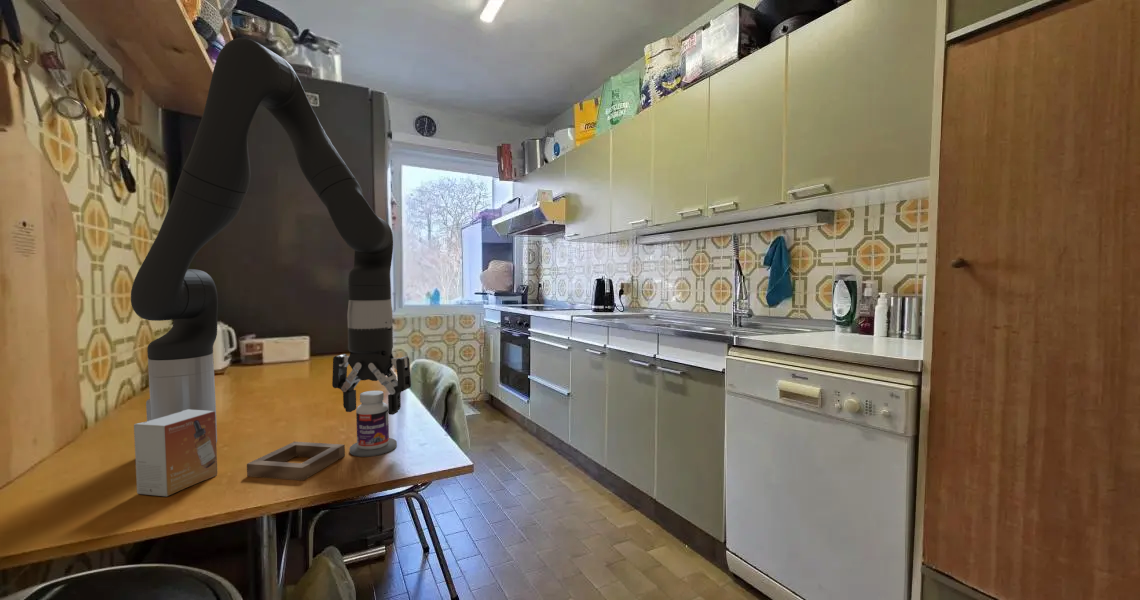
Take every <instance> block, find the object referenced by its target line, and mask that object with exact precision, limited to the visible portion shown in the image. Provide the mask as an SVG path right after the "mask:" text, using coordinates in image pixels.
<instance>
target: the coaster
mask: <svg viewBox="0 0 1140 600" xmlns="http://www.w3.org/2000/svg"><path fill="white" fill-rule="evenodd" d="M397 446H398V442H397V440H396V439H394V438H391V437H389V442H388V444H387V445H386V446H384V447H381V448H378V449H372V450H363V449H360V448H358V446H357V442H355V443H353V444H351V446H349V454H350V455H351V456H353V457H354V456H355V457H360V458H365V457H375V456H376V455H377V456H381V455H385V454H388V453H391V452H392V451H393V449H394V450H395V449H396V448H397ZM387 452H388V453H387ZM384 453H385V454H384Z"/></svg>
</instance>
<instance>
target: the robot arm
mask: <svg viewBox="0 0 1140 600" xmlns="http://www.w3.org/2000/svg"><path fill="white" fill-rule="evenodd" d="M207 93H208V94H207V97H206V101H205V105H204V109H203V114H202V116H201V119H200V122H199V126H198V127H197V131H196V134H195V137H194V140H193V143H192V146H191V149H190V151H189V154H188V157H187V159H186V160H185V163H184V165H183V167H182V170H181V173H180V175H179V178H178V181H177V184H176V186H175V190H174V193H173V196H172V198H171V201H170V204H169V207H168V209H167V212H166V215H165V216H164V219H163V221H162V224H161V227H160V229H159V230H158V233H157V235H156V237H155V239H154V241H153V243H152V245H151V246H150V249H149V251H148V252H147V254H146V256H145V258H144V259H143V262H141V263H142V264H141V265H140V267H139V270H138V271H137V274H136V275H135V278H134V280H133V282H132V286H131V290H130V304H131V307H132V310H133V311H134V313H135V314H136V315H137V316H138V317H139V318H141V319H143V320H146V321H151V322H152V321H156V322H157V321H162V322H163V321H173V323H172V327H171V329H169V331H167V332H166V333H165V334H164V335H162V336H160V337H158V338H156V339H154V340H152V341H151V342H150V343H148V345H147V366H148V367H147V368H148V369H147V370H148V385H149V386H148V387H149V388H148V389H149V398H148V399H147V400H146V402H145V406H146V409H145V410H146V421H150V420H154V419H157V418H161V417H164V416H168V415H171V414H175V413H178V412H182V411H184V410H187V409H190V410H206V411H215V422H216V423H217V406H216V405H217V404H216V386H215V385H216V384H215V383H216V382H215V365H214V344H215V341H216V339H217V336H218V312H219V311H218V310H219V309H218V308H219V307H218V306H219V302H218V301H219V299H218V298H219V297H218V290H217V286H216V284H215V281H214V279H213V278H212V276H211V275H210V274H208V273H207V272H206V271H204V270H200V269H197V268H196V269H194V268H189V267H190V265H191V263H192V261H193V260H194V258H195V256H196V255H197V254H198V253H199V252H200V250H201V249H202V248H203V247H204V246H205V245H206V244H207V243H208V242H210V241H211V240H213V238H215V237H216V236H217V235H218V234H220V233H221V232H222V231H224V230H225V229H226V228H227V227H228V226H229V225H230V224H231V223H232V222H233V221H234V220H235V218H236V217H237V216H238V214H239V212H240V210H241V208H242V206H243V202H244V201H245V198H246V195H247V192H248V190H249V187H250V183H251V163H250V161H251V160H250V154H249V146H248V145H249V144H248V140H249V139H248V138H249V131H250V128H251V125H252V122H253V119H254V117H255V114H256V113H257V109H258V108H259V106H262V107H264V108H265V109H266V110H267V111H268V112H269V113H270V114H271V115H272V116H273V117H274V118H275V119H276V121H277V122H278V123H279V124H280V125H281V127H282V128H283V130H284V131H285V132H286V134H287V136H288V137H289V140H290V142H291V144H292V147H293V149H294V154H295V157H296V161H297V164H298V165H299V168H300V170H301V172H302V174H303V175H304V176H303V177H304V178H305V179H306V181H307V182H308V184H309V185H310V187H311V188H312V190H313V191H314V192H315V194H316V195H317V197H318V198H319V199H320V201H321V202H322V204H323V205H324V206H325V207H326V209H327V211H328V214H329V216H330V218H331V221H332V222H333V224H334V226H335V228H336V230H337V232H338V234H339V236H340V237H341V238H342V239H343V241H344V242H345V243H346V245H347V246H348V247H350V248H351V249H352V250H353V251H354V256H353V257H354V259H353V268H352V269H351V270H350V271H349V274H348V282H347V283H348V287H347V288H348V303H347V304H348V307H347V350H348V351H349V355H347V354H346V353H342V354H339V355H336V356H333V358H332V377H331V378H332V381H331V382H332V383H331V384H332V385H331V386H332V387H333V388H334V389H338V390H341V392H342V406H343V409H345V412H347V413H352V412H354V411H356V410H357V389H356V387H357V385H358V384H359V383H360V381H368V380H369V381H371V382H377V381H378V382H379V383H380V384H381V386H384V388H385V389H386V390H387V392H388V393H389V394H387V399H388V400H387V405H388V416H391V415H392V416H393V415H395V414H398V412H399V410H400V409H401V407H402V403H401V399H402V398H401V393H402V392H404V391H407V390H408V389H410V388H411V387H412V381H411V380H412V379H411V366H410V357H409V356H406V355H404V356H402V357H394V355H393V348H394V334H393V333H394V331H393V329H394V328H393V327H394V326H393V324H394V323H393V322H394V318H393V307H392V301H391V299H392V298H391V297H392V296H391V295H392V294H391V292H392V290H391V276H390V275H391V267H392V260H393V249H394V236H393V231H392V228H391V226H390V225H389V223H388V222H387V221H386V220H384V219H383V218H381V217H379V216H377V214H376V213H375V211H374V210H373V209H372V207H371V206H370V204H369V202H368V201H367V200H366V198H365V197H364V191H363V188H362V187H361V185H360V183H359V182H358V180H357V179H356V177H355V175H354V174H353V172H352V171H351V170H350V168H349V166H348V165H347V164H346V162H345V161H344V159H343V158H342V157H341V154H340V153H339V152H338V150H337V149H336V147H335V146H334V145H333V143H332V141H331V139H330V138H329V136H328V135H327V133H326V131H325V129H324V127H323V125H322V124H321V122H320V120H319V118H318V116H317V113H316V112H315V111H314V109H313V107H312V105H311V102H310V101H309V98H308V96H307V93H306V92H305V89H304V87H303V85H302V83H301V80H300V79H299V76H298V75H297V73H296V71H295V70H294V68H293V66H292V65H291V64H290V63H289V62H288V61H287V60H286V59H284V58H283V57H282V56H280V55H279V54H277V53H275V52H274V51H272V50H271V49H269V48H268V47H266V46H264V45H262V44H261V43H259V42H257V41H255V40H253V39H250V38H247V37H236V38H234V39H231V40H229V41H228V42H227V43H226V44H224V46H223V47H222V48H221V49H220V51H219V53H218V55H217V57H216V59H215V64H214V67H213V72H212V74H211V80H210V85H209V89H208V92H207ZM349 366H350V368H351V371H350V372H349V373H348V367H349ZM393 366H394V369H395V370H396V374H395V372H394V371H393V370H392V367H393ZM217 427H218V425H217V424H216V444H217V443H218V430H217V429H218V428H217Z"/></svg>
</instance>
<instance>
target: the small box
mask: <svg viewBox="0 0 1140 600" xmlns="http://www.w3.org/2000/svg"><path fill="white" fill-rule="evenodd" d="M216 425H217V421H216V422H215V411H206V410H190V409H187V410H184V411H182V412H178V413H175V414H171V415H168V416H164V417H161V418H157V419H154V420H150V421H147V420H146V421H143V422H138V423H134V424H133V434H134V435H133V436H134V437H133V438H134V453H135V454H134V455H135V476H136V478H135V479H136V480H135V481H136V493H137V494H138V495H146V496H157V497H169V496H171V495H174V494H175V493H177V492H180V491H182V490H185V489H186V488H189V487H191V486H194V485H196V484H199V483H201V482H203V481H206V480H208V479H211V478H214V477H216V476H217V475H218V454H217V453H218V452H217V451H218V450H217V443H216Z"/></svg>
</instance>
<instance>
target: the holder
mask: <svg viewBox="0 0 1140 600" xmlns="http://www.w3.org/2000/svg"><path fill="white" fill-rule="evenodd" d="M345 447H346V446H345V444H344V443H343V444H342V443H341V444H340V443H339V444H338V443H323V442H309V441H307V442H306V441H293V442H291V443H288V444H286V445H284V446H282V447H280V448H278V449H276V450H274V451H271V452H269V453H266V454H265V455H263V456H260V457H258V458H256V459H254V460H252V461H250V462H248V463H246V474H247V475H246V476H247V477H252V478H267V479H277V480H278V479H279V480H293V481H294V480H295V481H304V480H306V479H308V478H310V477H311V476H313V475H314V474H316V473H318V472H321V470H323V469H325V468H326V467H329V466H330V465H331V464H334V463H335V462H336V461H338V459H339V460H340V459H341V458H343V457H345V456H346V452H345ZM295 457H304V458H305V457H306V458H309V459H307V460H305V461H303V462H289V461H290V460H291V459H293V458H295Z"/></svg>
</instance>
